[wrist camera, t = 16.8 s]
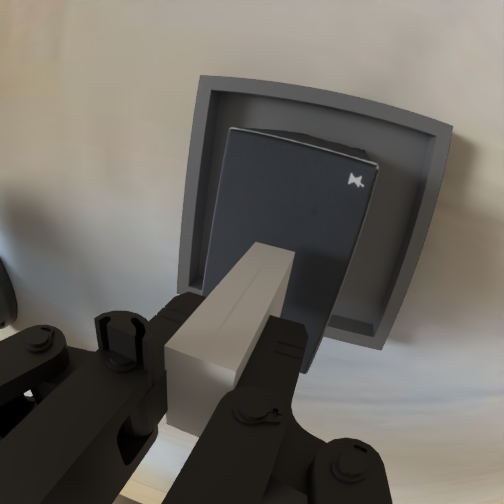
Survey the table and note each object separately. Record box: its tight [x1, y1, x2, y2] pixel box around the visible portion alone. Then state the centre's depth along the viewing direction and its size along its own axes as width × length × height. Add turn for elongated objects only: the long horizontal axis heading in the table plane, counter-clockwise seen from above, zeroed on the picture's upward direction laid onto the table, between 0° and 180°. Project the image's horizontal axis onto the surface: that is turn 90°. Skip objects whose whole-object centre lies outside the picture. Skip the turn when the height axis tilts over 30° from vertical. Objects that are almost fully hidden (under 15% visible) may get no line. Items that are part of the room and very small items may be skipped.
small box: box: [201, 126, 380, 374], centre depth 18 cm, size 11×6×10 cm, turn 169°
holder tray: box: [177, 75, 453, 350], centre depth 22 cm, size 17×17×2 cm
